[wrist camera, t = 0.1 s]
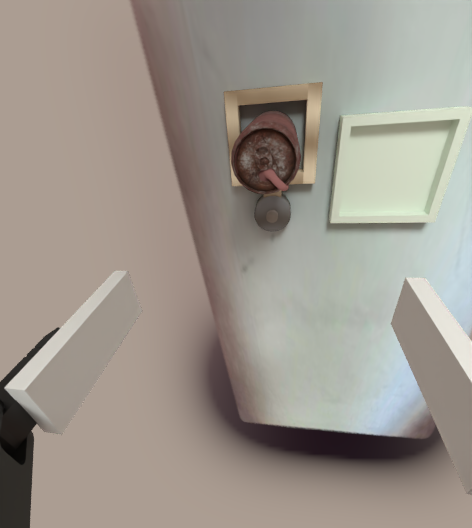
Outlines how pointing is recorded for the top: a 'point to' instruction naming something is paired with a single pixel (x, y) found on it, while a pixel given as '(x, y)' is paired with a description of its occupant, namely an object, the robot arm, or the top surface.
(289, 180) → the can
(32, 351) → the robot arm
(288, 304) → the top surface
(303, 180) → the collar block
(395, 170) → the tray
